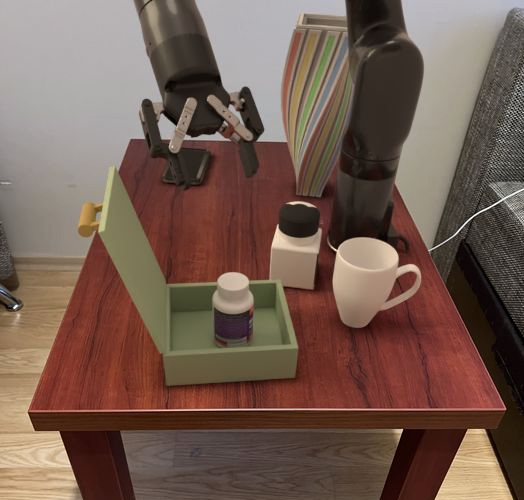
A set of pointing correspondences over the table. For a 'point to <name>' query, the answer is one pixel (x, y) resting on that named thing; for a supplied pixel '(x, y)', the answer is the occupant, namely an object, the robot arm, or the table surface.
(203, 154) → the phone
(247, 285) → the pill bottle
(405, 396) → the table surface
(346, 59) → the vase
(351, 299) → the mug
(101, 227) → the green box lid
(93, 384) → the table surface
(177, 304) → the green open box
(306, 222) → the medicine bottle
